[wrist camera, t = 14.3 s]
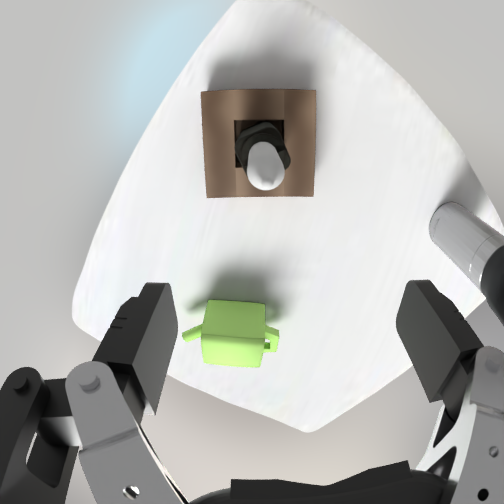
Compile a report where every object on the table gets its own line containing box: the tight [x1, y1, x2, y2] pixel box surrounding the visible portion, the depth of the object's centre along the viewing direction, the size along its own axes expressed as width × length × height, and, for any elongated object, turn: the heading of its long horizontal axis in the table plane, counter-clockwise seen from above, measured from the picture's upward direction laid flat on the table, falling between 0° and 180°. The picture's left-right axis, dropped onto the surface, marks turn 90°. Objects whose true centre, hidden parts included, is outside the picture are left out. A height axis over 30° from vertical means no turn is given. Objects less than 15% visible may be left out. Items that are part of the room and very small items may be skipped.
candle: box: [234, 121, 291, 190], centre depth 31 cm, size 5×5×25 cm
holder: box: [201, 89, 316, 198], centre depth 41 cm, size 15×15×5 cm
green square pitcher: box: [182, 300, 279, 367], centre depth 55 cm, size 18×10×10 cm, turn 86°
